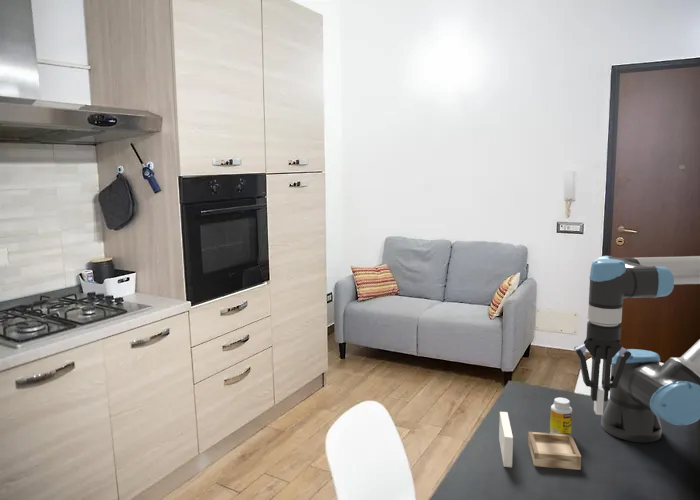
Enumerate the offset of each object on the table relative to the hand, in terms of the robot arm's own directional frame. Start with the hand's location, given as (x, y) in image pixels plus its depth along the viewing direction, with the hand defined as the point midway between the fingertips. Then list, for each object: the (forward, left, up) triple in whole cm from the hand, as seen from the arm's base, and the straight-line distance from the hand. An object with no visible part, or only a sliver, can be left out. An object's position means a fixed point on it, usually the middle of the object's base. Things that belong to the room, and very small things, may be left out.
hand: (598, 412), depth 135 cm
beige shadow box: (+10, 0, -13) cm, 16 cm away
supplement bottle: (+6, -12, -13) cm, 19 cm away
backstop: (+22, 0, -13) cm, 26 cm away
